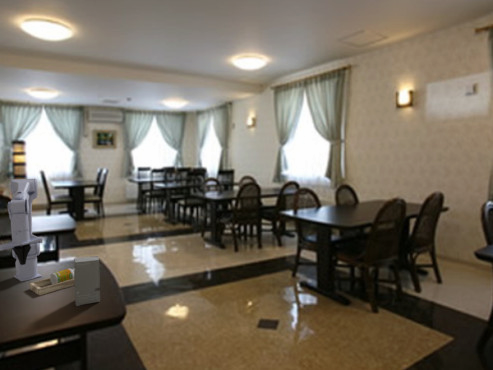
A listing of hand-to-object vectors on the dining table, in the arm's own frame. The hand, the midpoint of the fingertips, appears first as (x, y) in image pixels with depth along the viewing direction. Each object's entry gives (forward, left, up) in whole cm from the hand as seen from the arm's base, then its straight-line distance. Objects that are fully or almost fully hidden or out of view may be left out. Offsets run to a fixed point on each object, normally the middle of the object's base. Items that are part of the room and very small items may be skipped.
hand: (22, 264), depth 134 cm
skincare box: (+30, +11, -11) cm, 34 cm away
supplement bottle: (+5, +8, -8) cm, 13 cm away
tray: (+6, +11, -10) cm, 16 cm away
